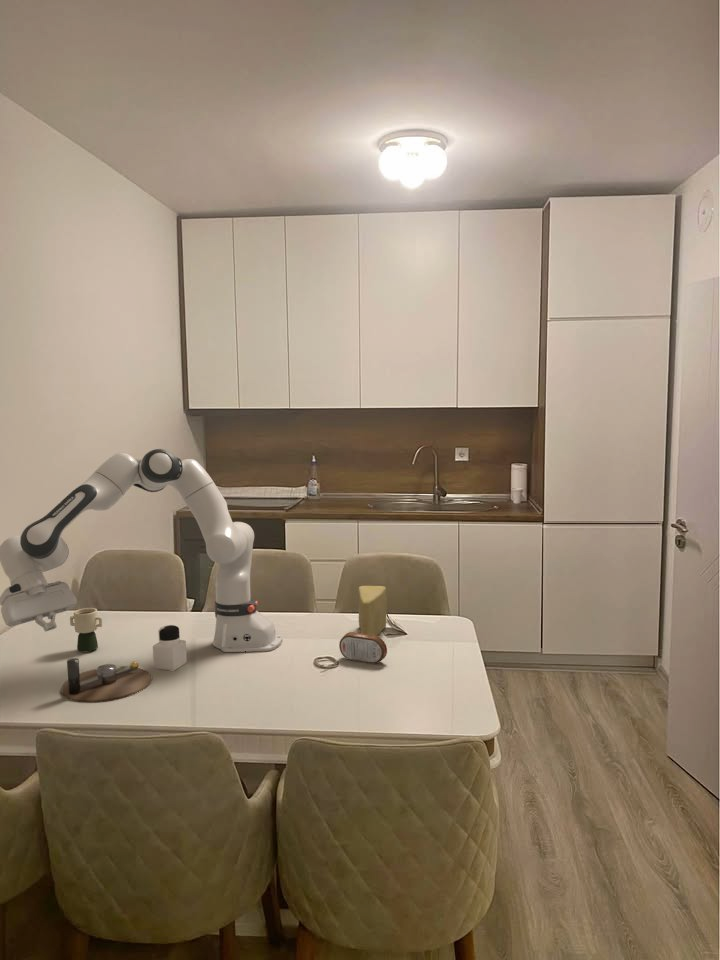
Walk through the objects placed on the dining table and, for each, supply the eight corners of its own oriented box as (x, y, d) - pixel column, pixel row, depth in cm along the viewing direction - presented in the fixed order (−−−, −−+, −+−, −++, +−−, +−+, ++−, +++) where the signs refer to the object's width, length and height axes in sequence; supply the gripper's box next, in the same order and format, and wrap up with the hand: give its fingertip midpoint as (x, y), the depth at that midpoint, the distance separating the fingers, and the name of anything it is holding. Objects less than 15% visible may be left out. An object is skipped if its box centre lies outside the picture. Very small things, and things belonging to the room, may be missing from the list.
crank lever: (141, 670, 218) (140, 641, 217) (78, 696, 200) (76, 664, 199) (130, 667, 221) (128, 638, 219) (66, 692, 203) (64, 660, 202)
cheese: (381, 649, 237) (380, 602, 235) (350, 648, 238) (350, 602, 236) (387, 627, 259) (386, 584, 257) (359, 626, 260) (358, 584, 258)
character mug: (109, 647, 242) (106, 608, 240) (98, 654, 235) (95, 614, 234) (77, 646, 244) (75, 607, 242) (66, 653, 237) (63, 613, 235)
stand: (165, 670, 221) (164, 666, 221) (128, 704, 197) (128, 699, 197) (89, 667, 224) (88, 663, 224) (44, 699, 201) (43, 695, 201)
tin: (387, 663, 224) (387, 635, 223) (383, 666, 222) (383, 639, 221) (342, 656, 231) (342, 629, 230) (338, 659, 228) (337, 633, 227)
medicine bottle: (187, 662, 227) (185, 624, 226) (174, 671, 220) (172, 631, 219) (167, 660, 229) (165, 622, 228) (153, 668, 223) (151, 629, 221)
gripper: (61, 585, 223) (80, 624, 219) (-8, 602, 207) (12, 645, 203) (68, 574, 220) (88, 613, 215) (-1, 591, 204) (19, 634, 200)
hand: (51, 629), depth 209 cm, fingers closed
